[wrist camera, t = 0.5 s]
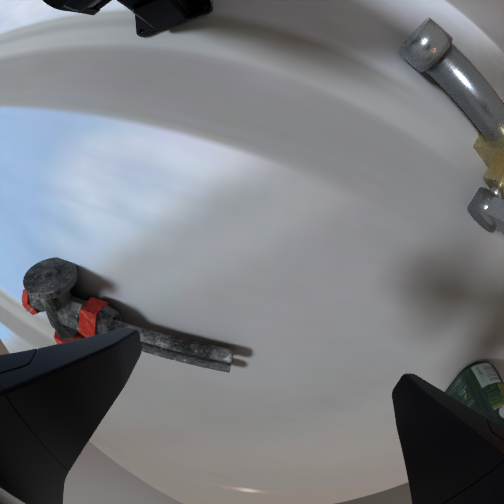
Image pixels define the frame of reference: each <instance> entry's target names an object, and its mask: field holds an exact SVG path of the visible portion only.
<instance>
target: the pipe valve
mask: <svg viewBox="0 0 504 504" xmlns="http://www.w3.org/2000/svg"><path fill="white" fill-rule="evenodd" d="M451 42H452V37H451V36H450V35H449V34H448V33H447V32H446V31H445V30H444V29H442V28H441V27H440V26H439V25H438V24H437V23H436V22H434V21H433V20H432V19H431V18H428V19H427V20H425V21H424V22H423V23H422V24H421V25H420V26H419V27H418V28H417V29H416V30H415V32H414V33H413V34H412V35H411V36H410V37H409V39H408V40H407V41H406V42H405V44H404V45H403V47H402V48H401V50H400V51H399V53H398V54H399V55H400V56H401V57H403V58H404V59H405V60H406V61H408V62H409V63H410V64H411V65H412V66H413V67H415V68H416V69H417V70H418V71H419V72H424V71H426V72H427V73H428V74H429V75H430V76H431V77H432V78H433V79H434V80H435V81H436V82H437V83H438V84H439V85H440V86H441V87H442V88H443V89H444V90H445V91H446V92H447V93H448V94H449V95H450V96H451V97H452V98H453V99H454V101H455V102H456V103H457V104H458V105H459V106H460V107H461V108H462V110H463V111H464V112H465V113H466V114H467V115H468V117H469V118H470V119H471V120H472V122H473V123H474V124H475V125H476V127H477V128H478V129H479V130H480V132H481V133H480V135H479V137H478V139H477V140H476V142H475V144H474V146H473V147H474V148H475V150H476V151H477V152H478V154H479V155H480V156H481V158H482V159H483V161H484V162H485V163H486V165H487V166H488V169H487V171H486V173H485V175H484V177H483V178H484V179H485V181H486V182H487V184H488V185H489V187H490V188H491V189H490V191H491V192H492V193H494V194H495V195H496V196H497V197H498V198H500V199H504V103H503V101H502V100H501V99H500V97H499V96H498V95H497V93H496V92H495V91H494V89H493V88H492V87H491V86H490V84H489V83H488V82H487V81H486V79H485V78H484V77H483V76H482V75H481V73H480V72H479V71H478V70H477V69H476V68H475V67H474V65H473V64H472V63H471V62H470V61H469V60H468V59H467V58H466V57H465V56H464V55H463V54H462V53H461V52H460V51H459V50H458V49H457V48H456V47H455V46H454V45H453V44H452V43H451Z"/></svg>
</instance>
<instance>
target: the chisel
mask: <svg viewBox="0 0 504 504" xmlns="http://www.w3.org/2000/svg"><path fill="white" fill-rule="evenodd" d="M467 209H468V212H469V213H470V215H471V216H472V217H473V219H474V220H475V221H476V222H477V223H478V224H479V225H481V226H482V227H483V228H484V229H486V230H487V231H489V232H494V231H495V230H497V231H499V232H501V233H503V234H504V200H503V199H500V198H498V197H497V196H496V195H495V194H494V193H492V192H491V191H490V190H488V189H486V188H483V187H480V188H479V189H478V191H477V193H476V194H475V196H474V198H473V199H472V201H471V202H470V204H469V206H468V207H467Z"/></svg>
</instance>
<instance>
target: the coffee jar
mask: <svg viewBox="0 0 504 504" xmlns="http://www.w3.org/2000/svg"><path fill="white" fill-rule="evenodd" d="M445 393H446V394H448V395H450V396H451V397H453V398H455V399H456V400H458V401H460V402H461V403H463V404H465V405H466V406H468V407H470V408H472V409H473V410H475V411H477V412H478V413H480V414H482V415H483V416H485V417H488V418H489V419H491V420H493V421H495V422H496V423H498V424H500V425H502V426H504V383H503V381H502V379H501V377H500V375H499V373H498V371H497V370H496V368H495V367H494V365H492V364H490V363H487V362H479V363H476V364H474V365H472V366H470V367H468V368H466V369H464V370H463V371H462V372H461V373H460V374H459V375H458V376H457V377H456V379H455V380H454V381H453V382H452V384H451V385H450V386H449V388H448V389H447V390H446V392H445Z"/></svg>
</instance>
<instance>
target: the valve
mask: <svg viewBox="0 0 504 504" xmlns="http://www.w3.org/2000/svg"><path fill="white" fill-rule="evenodd" d="M77 279H78V272H77V268H76V265H75V264H74V263H72V262H69V261H66V260H63V259H60V258H50V259H46V260H43V261H41V262H39V263H37V264H35V265H34V266H32V267H31V268H30V269H29V270H28V271H27V273H26V274H25V276H24V280H23V284H24V288H25V289H24V290H23V295H22V303H23V304H22V305H23V306H24V308H25V309H26V310H27V311H29V312H30V313H31V314H32V315H34V314H37V313H39V312H44V311H46V314H47V316H48V319H49V321H50V324H51V325H52V327H53V328H55V330H56V331H55V335H54V338H55V340H56V342H57V344H61V343H65V342H70V341H74V340H78V339H82V338H86V337H90V336H94V335H98V334H102V333H106V332H110V331H114V330H118V329H122V328H126V327H130V328H134V329H137V330H138V331H139V333H140V340H141V348H142V350H141V351H143V352H147V353H150V354H153V355H157V356H160V357H164V358H168V359H171V360H175V361H179V362H183V363H187V364H191V365H196V366H200V367H204V368H209V369H214V370H218V371H223V372H230V367H231V362H232V358H233V354H234V349H228V348H223V347H218V346H213V345H209V344H204V343H200V342H195V341H191V340H187V339H182V338H178V337H174V336H170V335H166V334H162V333H159V332H155V331H151V330H148V329H144V328H141V327H137V326H134V325H130V324H127V323H124V322H122V318H121V314H120V313H119V312H118V311H116V310H115V309H113V308H112V307H111V306H110V304H109V303H108V302H107V301H104V300H100V299H97V298H94V297H91V298H90V299H89V300H88V301H86V300H83V299H80V298H77V297H74V296H71V293H70V289H71V288H72V287H73V286H74V284H75V283H76V281H77Z"/></svg>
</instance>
